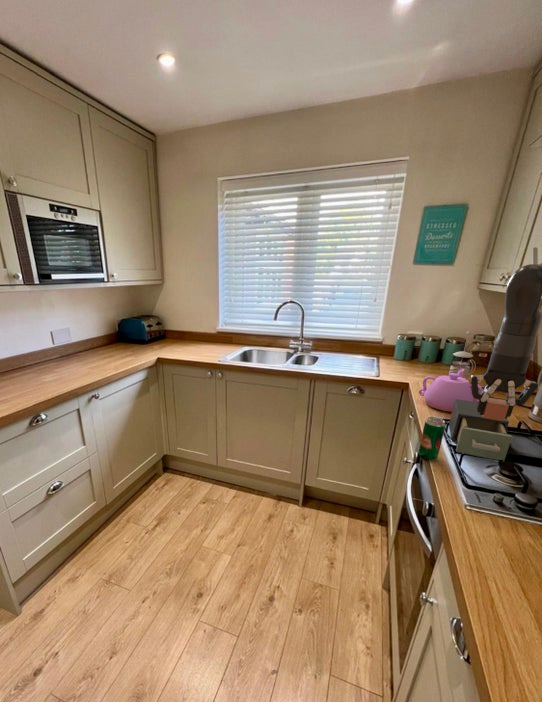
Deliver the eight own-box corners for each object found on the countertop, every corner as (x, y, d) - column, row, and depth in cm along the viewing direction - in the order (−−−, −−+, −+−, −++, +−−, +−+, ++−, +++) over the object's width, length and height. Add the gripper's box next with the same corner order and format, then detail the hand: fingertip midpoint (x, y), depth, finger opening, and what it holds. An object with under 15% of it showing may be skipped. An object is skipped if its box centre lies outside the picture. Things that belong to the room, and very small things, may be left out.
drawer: (507, 469, 89) (515, 443, 87) (457, 458, 95) (463, 434, 92) (496, 441, 104) (503, 418, 101) (453, 433, 109) (458, 412, 106)
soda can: (413, 453, 99) (421, 416, 95) (429, 452, 100) (438, 415, 96) (424, 461, 95) (433, 424, 90) (441, 460, 95) (451, 423, 91)
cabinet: (499, 450, 100) (509, 421, 97) (451, 441, 106) (458, 413, 103) (492, 431, 112) (500, 405, 109) (448, 424, 118) (455, 399, 115)
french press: (454, 378, 169) (467, 328, 160) (476, 385, 158) (491, 332, 149) (440, 380, 166) (451, 330, 157) (461, 387, 155) (475, 334, 147)
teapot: (485, 404, 135) (495, 372, 130) (474, 420, 120) (484, 384, 115) (426, 392, 149) (432, 362, 144) (410, 405, 135) (416, 372, 130)
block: (500, 415, 88) (505, 399, 86) (503, 421, 84) (509, 405, 83) (480, 412, 90) (484, 397, 88) (483, 418, 86) (487, 402, 85)
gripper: (544, 352, 81) (522, 415, 87) (474, 346, 87) (458, 406, 93) (555, 358, 75) (530, 426, 81) (478, 352, 81) (461, 415, 87)
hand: (492, 415), depth 87 cm, fingers closed on block, 4 cm apart
